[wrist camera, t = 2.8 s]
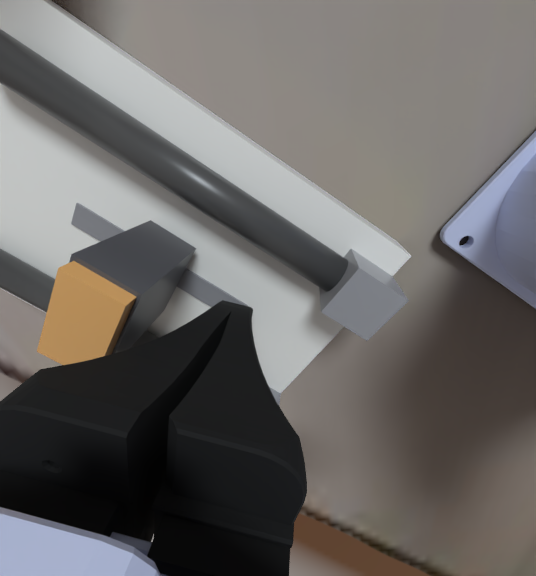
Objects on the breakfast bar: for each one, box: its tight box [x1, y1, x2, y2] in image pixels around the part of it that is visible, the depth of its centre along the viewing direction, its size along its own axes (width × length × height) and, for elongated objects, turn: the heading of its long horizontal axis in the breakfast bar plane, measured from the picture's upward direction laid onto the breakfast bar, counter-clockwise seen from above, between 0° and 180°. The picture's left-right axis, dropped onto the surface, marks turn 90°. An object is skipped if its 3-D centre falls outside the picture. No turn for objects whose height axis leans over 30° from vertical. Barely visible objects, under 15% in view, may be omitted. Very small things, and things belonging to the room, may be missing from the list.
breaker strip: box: [0, 0, 411, 405], centre depth 12 cm, size 16×12×4 cm
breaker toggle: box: [37, 220, 196, 365], centre depth 10 cm, size 2×4×4 cm, turn 148°
